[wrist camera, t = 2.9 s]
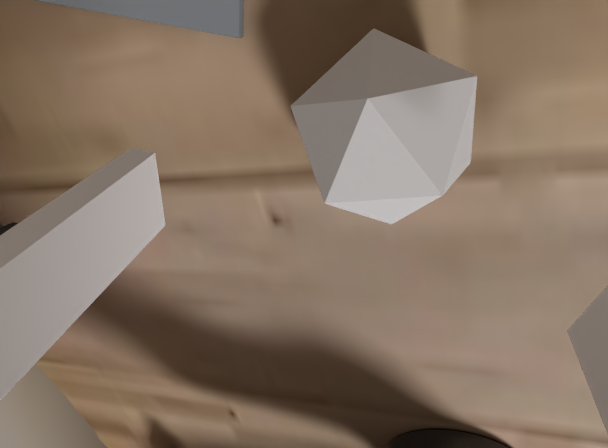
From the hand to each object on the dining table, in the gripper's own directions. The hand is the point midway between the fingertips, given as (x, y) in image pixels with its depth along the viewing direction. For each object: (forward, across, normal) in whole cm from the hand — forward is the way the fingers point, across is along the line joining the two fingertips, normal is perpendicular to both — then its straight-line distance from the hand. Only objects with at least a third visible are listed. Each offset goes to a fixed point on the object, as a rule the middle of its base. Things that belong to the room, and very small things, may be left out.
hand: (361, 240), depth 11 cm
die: (+13, 0, 0) cm, 13 cm away
